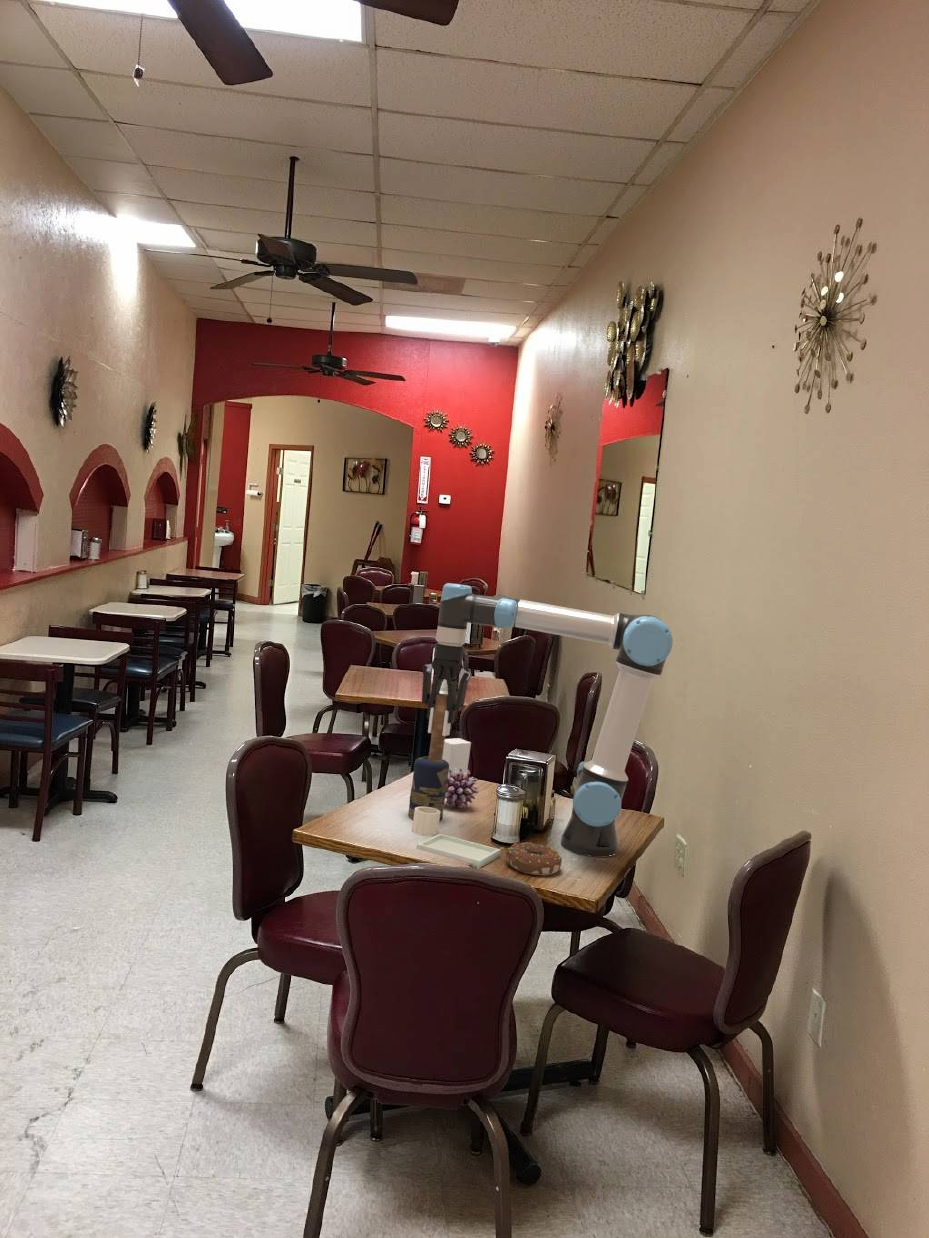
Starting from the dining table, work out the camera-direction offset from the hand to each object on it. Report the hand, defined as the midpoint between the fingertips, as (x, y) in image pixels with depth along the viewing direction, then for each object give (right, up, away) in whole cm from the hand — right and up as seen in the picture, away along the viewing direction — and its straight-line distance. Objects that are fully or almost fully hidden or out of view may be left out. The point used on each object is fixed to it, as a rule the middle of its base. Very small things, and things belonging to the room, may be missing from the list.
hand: (438, 733), depth 261 cm
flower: (+4, -26, +33) cm, 42 cm away
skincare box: (+2, -24, +55) cm, 60 cm away
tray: (+5, -29, -11) cm, 31 cm away
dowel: (-1, -7, 0) cm, 7 cm away
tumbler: (-4, -26, +2) cm, 27 cm away
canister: (-4, -26, +15) cm, 30 cm away
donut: (+23, -32, -14) cm, 42 cm away
